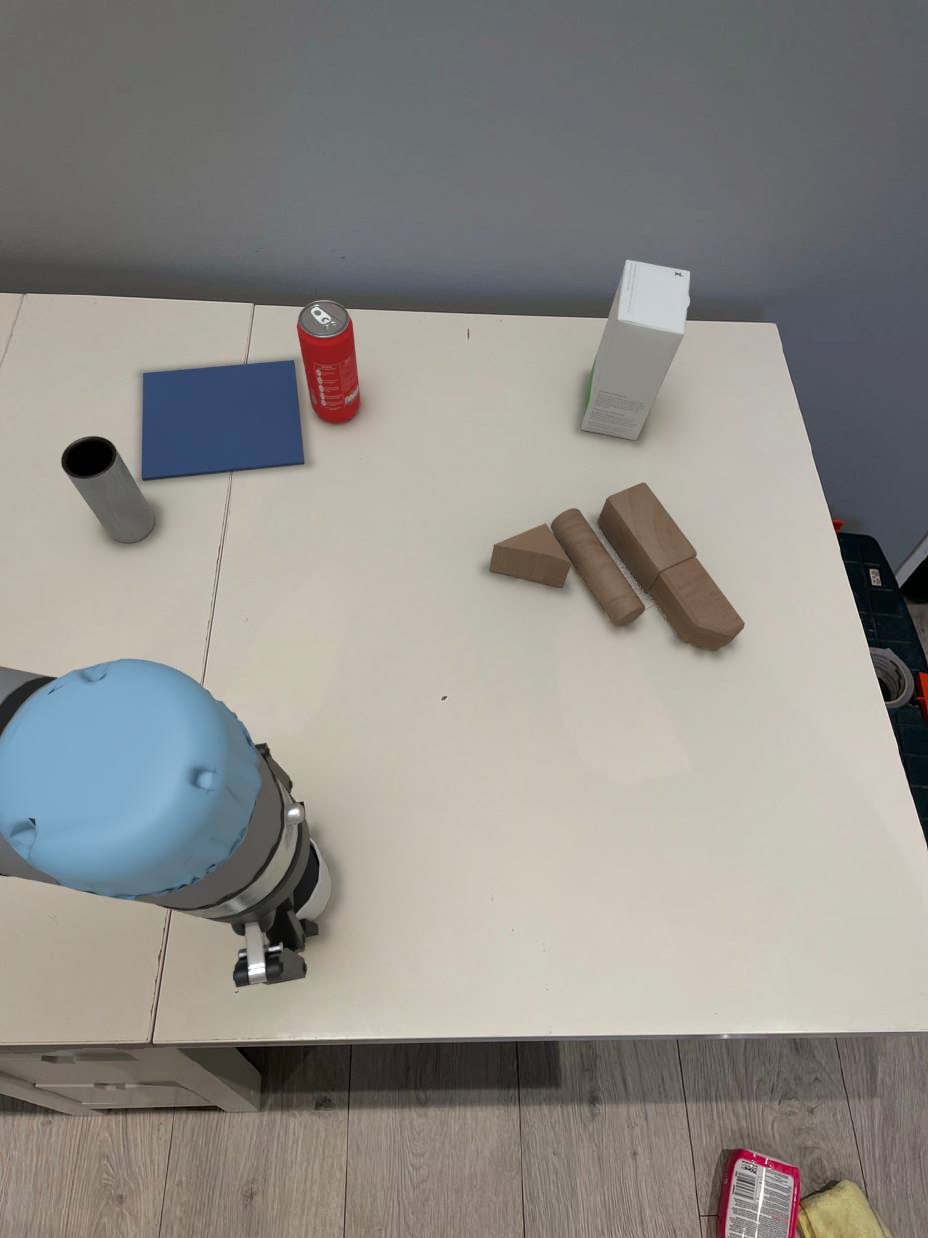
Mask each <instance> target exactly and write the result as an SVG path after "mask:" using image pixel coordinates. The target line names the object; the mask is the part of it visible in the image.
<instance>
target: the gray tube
mask: <svg viewBox="0 0 928 1238" xmlns="http://www.w3.org/2000/svg"><path fill="white" fill-rule="evenodd" d="M60 464H61V468H62V470H63V471H64V473H65V474H66V476H67V477H68V479H69V480H70V482H71V483H72V484H73V486H74V487H75V489H76V490H77V492H78V493H79V494H80V496H81V498H82V499H83V500H84V501H85V503H86V505H87V506H88V507H89V508H90V510H91V511H92V513H93V514H94V515H95V517H96V518H97V520H98V521H99V523H100V524H101V526H102V527H103V528H104V530H105V531H106V533H107V534H108V535H109V536H110V538H112V539H113V540H115V541H117V542H119V543H122V544H123V543H124V544H130V543H131V544H132V543H136V542H139V541H141V540H143V539H145V538H146V537H148V535H149V534H150V533H151V532H152V531H153V529H154V527H155V523H156V518H155V517H156V516H155V514H154V512H153V510H152V508H151V506H150V504H149V503H148V500H147V499H146V498H145V496H144V494H143V492H142V491H141V489H140V487H139V485H138V484H137V482H136V480H135V479H134V477H133V475H132V473H131V472H130V470H129V468H128V466H127V465H126V463H125V461H124V459H123V458H122V456H121V454H120V452H119V451H118V448H117V447H116V445H114V442H112V441H111V440H109V439H107V438H105V437H102V436H97V435H90V436H89V435H88V436H83V437H81V438H77V439H76V440H74V441H72V442H71V443H70V444H69V445H68V446H67V447H66V448H65V449H64V451H63V452H62V454H61V457H60Z"/></svg>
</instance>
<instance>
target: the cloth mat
mask: <svg viewBox="0 0 928 1238" xmlns="http://www.w3.org/2000/svg"><path fill="white" fill-rule="evenodd" d="M295 367H296V366H295V360H294V359H290V360H289V359H288V360H277V361H265V362H254V363H241V364H231V365H222V366H221V365H219V366H207V367H206V366H205V367H197V368H185V369H174V370H161V371H152V372H150V371H149V372H143V373H142V415H141V416H142V418H141V419H142V425H141V435H142V436H141V481H152V480H163V479H171V478H172V479H173V478H181V477H191V476H200V475H210V474H220V473H231V472H238V471H239V472H240V471H248V470H249V471H250V470H258V469H259V470H260V469H269V468H278V467H286V466H296V465H297V466H298V465H304V464H305V458H304V457H305V456H304V447H303V438H302V428H301V427H302V426H301V418H300V406H299V397H298V386H297V377H296V368H295Z"/></svg>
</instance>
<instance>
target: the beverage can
mask: <svg viewBox="0 0 928 1238" xmlns="http://www.w3.org/2000/svg"><path fill="white" fill-rule="evenodd" d="M296 331H297V332H296V333H297V335H298V336H297V337H298V343H299V348H300V352H301V359H302V362H303V369H304V375H305V379H306V385H307V390H308V396H309V400H310V405H311V408H312V409H313V411H314V412H315V413H316V414H317V416H318V417H319V418H320V419H321V420H322V421H324V422H326V423H329V424H334V425H337V424H344V423H347V422H349V421H350V420H352V419H353V418H354V417H355V416H356V414H357V412H358V409H359V407H360V406H361V392H360V382H359V371H358V364H357V354H356V353H357V351H356V341H355V334H354V323H353V319H352V317H351V316H350V314H349V311H348V310H347V309H346V308H345V307H344V306H343V305H342V304H340V303H338V302H336V301H333V300H325V299H324V300H323V299H322V300H316V301H312V302H310V303H308V304H306V305H305V306H304V307H303V308H302V309H301V310H300V312H299V314H298V317H297V323H296Z"/></svg>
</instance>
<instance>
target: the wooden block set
mask: <svg viewBox="0 0 928 1238" xmlns="http://www.w3.org/2000/svg"><path fill="white" fill-rule="evenodd" d="M597 525H598V526H599V527H600V529H601V530H602V532H603V533H604V535H605V536H606V538H607V539H608V540H609V542H610V543H611V545H612V546H613V548H614V549H615V551H616V552H617V554H618V555H619V556H620V558H621V559H622V561H623V562H624V564H625V566H626V567H627V569H628V570H629V571H630V572H631V574H632V575H633V577H634V578H635V580H636V582H637V583H638V584H639V586H640V587H641V588H642V590H643V591H644V592H645V593H649V594H650V596H651V597H652V599H653V600H654V602H655V603H656V605H657V607H659V609H660V611H661V612H662V613H663V615H664V616H665V618H666V619H667V620H668V622H669V623H670V625H671V626H672V628H673V629H674V631H675V632H676V634H677V635H678V636H679V638H680V639H681V640H682V641H684V642H685V643H687V644H690V645H695V646H697V647H700V648H704V649H708V650H711V651H714V650H715V651H717V650H719V649H721V648H723V647H725V646H727V645H729V644H730V643H731V642H732V641H733V640H734V639H735V638H736V637H737V636H738V635H739V634H740V633H741V632H742V631H743V629H744V628H745V625H746V624H745V621H744V619H742V617H741V615H740V614H739V613H738V612H737V610H736V608H734V606H733V605H732V603H731V602H730V601H729V599H728V598H727V596H725V594H724V593H723V592H722V590H721V589H720V587H719V586H718V585H717V583H716V582H715V580H714V579H713V578H712V577H711V575H710V573H708V571H707V570H706V568H705V566H703V563H701V562H700V559H698V557H697V556H698V553H697V550H696V548H694V546H693V544H692V543H691V541H689V539H688V538H687V537H686V535H685V534H684V532H683V531H682V530H681V528H680V527H679V525H678V524H677V523H676V521H675V520H674V519H673V517H672V516H671V515H670V513H669V512H668V511H667V509H666V508H665V507H664V505H663V504H662V503H661V501H660V500H659V498H658V497H657V496H656V494H655V492H653V490H652V489H651V488H650V486H649V485H648V484H647V483H646V482H640V483H638V484H636V485H633V486H631V487H628V488H625V489H623V490H621V491H618V492H616V493H614V494H611V495H609V496H607V498H606V499H605V501H604V503H603V506H602V509H601V511H600V514H599V515H598V518H597ZM572 565H574V566H575V567H576V569H577V570H578V572H579V574H580V575H581V577H582V578H583V580H584V581H585V583H586V584H587V586H588V587H589V589H590V590H591V592H592V593H593V595H594V597H595V598H596V599H597V601H598V602H599V605H601V607H602V609H603V610H604V612H605V614H606V615H607V616H608V618H609V619H610V621H611V622H612V624H613V625H614V627H617V628H620V627H624V626H627V625H628V624H630V623H633V621H636V620H637V619H638V618H639V617H640V616H642V615H643V613H644V612H645V611H646V605H645V604H644V602H643V601H642V600H641V598H640V597H639V595H638V594H637V592H636V591H635V589H634V588H633V586H632V585H631V584H630V582H629V580H628V579H627V578H626V576H625V575H624V573H623V572H622V570H621V569H620V567H619V566H618V564H617V563H616V561H615V560H614V558H613V557H612V556H611V554H610V553H609V551H608V549H607V548H606V546H605V545H604V544H603V542H602V541H601V540H600V537H598V535H597V534H596V532H595V531H594V529H593V528H592V527H591V525H590V524H589V522H588V521H587V519H586V517H585V516H584V514H583V513H582V511H581V510H580V509H578V508H575V507H573V508H568V509H567V510H565V511H562V512H561V513H559V514H558V515H557V516H555V518H554V519H553V520H552V522H551V524H550V527H549V526H548V524H547V523H546V522H545V523H543V524H540V525H537V526H535V527H533V528H530V529H528V530H525V531H523V532H521V533H519V534H516V535H513V536H511V537H509V538H506V539H503V540H502V541H499V542H497V543H495V544H493V547H492V552H491V558H490V564H489V567H488V571H490V572H494V573H497V574H502V575H506V576H511V577H515V578H519V579H522V580H527V581H532V582H536V583H540V584H543V585H544V584H545V585H548V586H553V587H557V588H560V589H563V587H564V585H565V583H566V580H567V577H568V575H569V571H570V569H571V566H572Z"/></svg>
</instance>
